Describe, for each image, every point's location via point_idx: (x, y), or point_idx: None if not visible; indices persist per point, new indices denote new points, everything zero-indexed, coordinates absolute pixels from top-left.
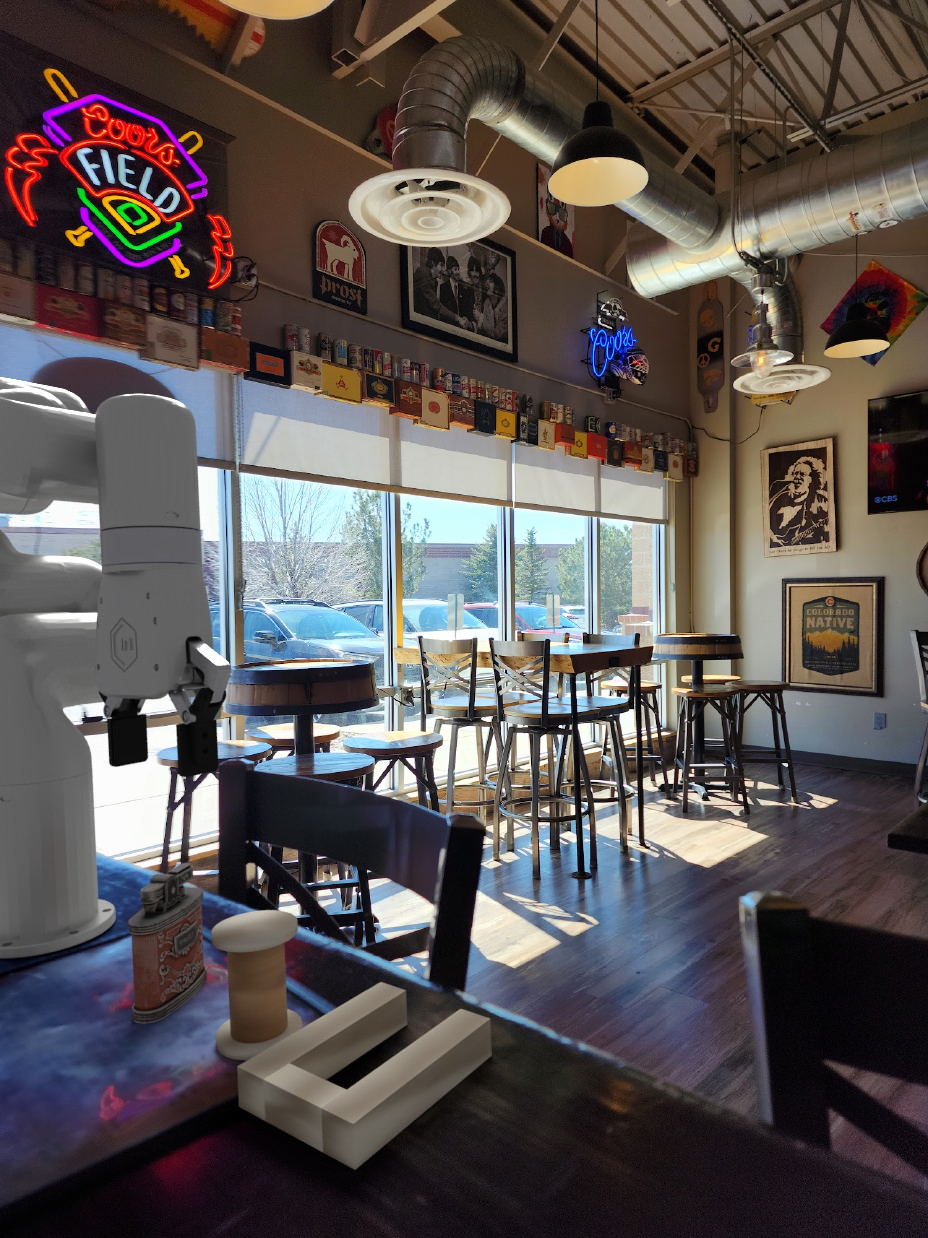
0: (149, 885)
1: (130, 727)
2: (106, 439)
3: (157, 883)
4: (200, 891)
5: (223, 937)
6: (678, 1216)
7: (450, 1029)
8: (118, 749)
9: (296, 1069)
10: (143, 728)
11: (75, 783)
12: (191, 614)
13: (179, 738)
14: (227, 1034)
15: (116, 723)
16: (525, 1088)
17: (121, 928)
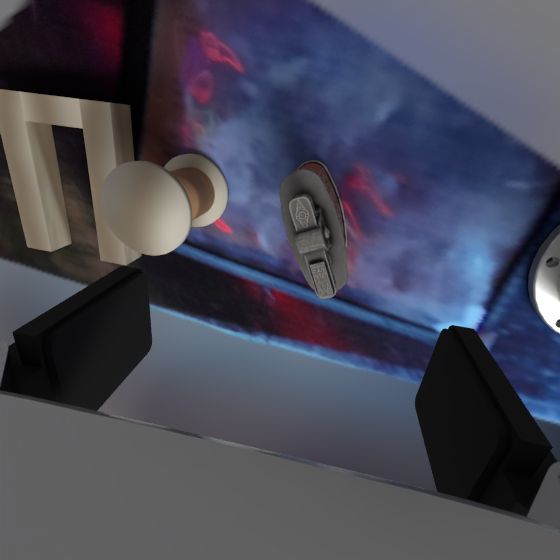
0: (311, 217)
1: (460, 454)
2: None
3: (305, 227)
4: (313, 285)
5: (146, 172)
6: None
7: (35, 223)
8: (454, 364)
9: (71, 123)
10: (439, 476)
11: None
12: None
13: (60, 309)
14: (207, 172)
15: (489, 434)
16: (11, 216)
17: (517, 308)
